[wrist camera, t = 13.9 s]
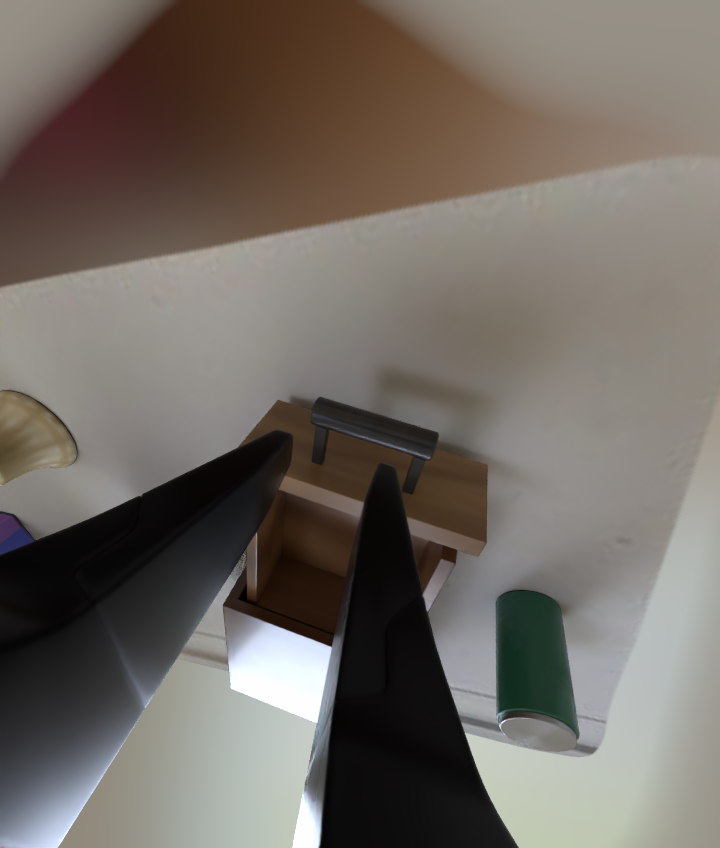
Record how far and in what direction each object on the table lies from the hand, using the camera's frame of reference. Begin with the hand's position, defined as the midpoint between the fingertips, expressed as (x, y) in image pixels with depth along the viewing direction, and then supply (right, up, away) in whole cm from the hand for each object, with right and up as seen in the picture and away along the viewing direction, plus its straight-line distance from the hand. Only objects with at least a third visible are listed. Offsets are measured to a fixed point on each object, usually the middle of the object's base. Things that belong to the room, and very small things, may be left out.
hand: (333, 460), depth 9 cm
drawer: (+1, -4, +18) cm, 19 cm away
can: (+14, -14, +22) cm, 29 cm away
